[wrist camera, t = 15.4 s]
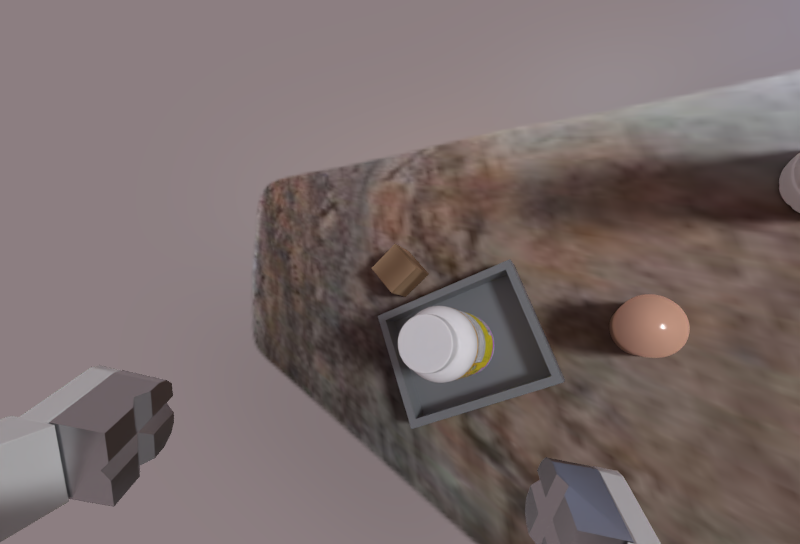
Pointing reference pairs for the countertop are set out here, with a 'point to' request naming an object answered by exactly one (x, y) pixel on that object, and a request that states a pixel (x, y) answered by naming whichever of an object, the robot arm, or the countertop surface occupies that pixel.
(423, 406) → the tray
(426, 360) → the supplement bottle
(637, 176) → the countertop surface
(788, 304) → the countertop surface
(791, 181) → the water bottle
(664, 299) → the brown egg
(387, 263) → the walnut block
